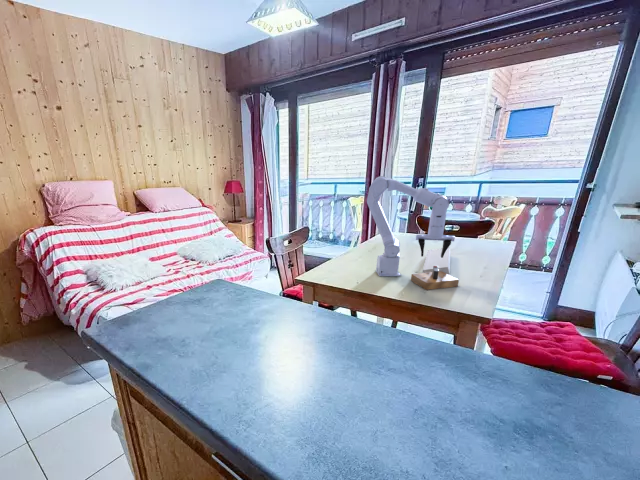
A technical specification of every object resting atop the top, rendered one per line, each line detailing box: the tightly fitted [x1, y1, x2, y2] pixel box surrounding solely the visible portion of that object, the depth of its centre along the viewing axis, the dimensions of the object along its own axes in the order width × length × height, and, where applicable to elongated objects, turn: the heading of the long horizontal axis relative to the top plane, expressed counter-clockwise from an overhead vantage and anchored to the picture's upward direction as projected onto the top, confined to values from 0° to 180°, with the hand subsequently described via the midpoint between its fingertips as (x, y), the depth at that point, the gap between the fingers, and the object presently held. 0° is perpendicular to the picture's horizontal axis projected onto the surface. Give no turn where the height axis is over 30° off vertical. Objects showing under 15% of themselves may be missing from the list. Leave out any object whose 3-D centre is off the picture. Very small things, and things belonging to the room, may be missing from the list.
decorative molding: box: [422, 246, 451, 275], centre depth 159 cm, size 34×5×10 cm
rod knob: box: [432, 266, 439, 279], centre depth 136 cm, size 6×2×4 cm, turn 156°
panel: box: [410, 271, 460, 291], centre depth 138 cm, size 14×11×3 cm
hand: (431, 256), depth 142 cm, fingers open, 7 cm apart
